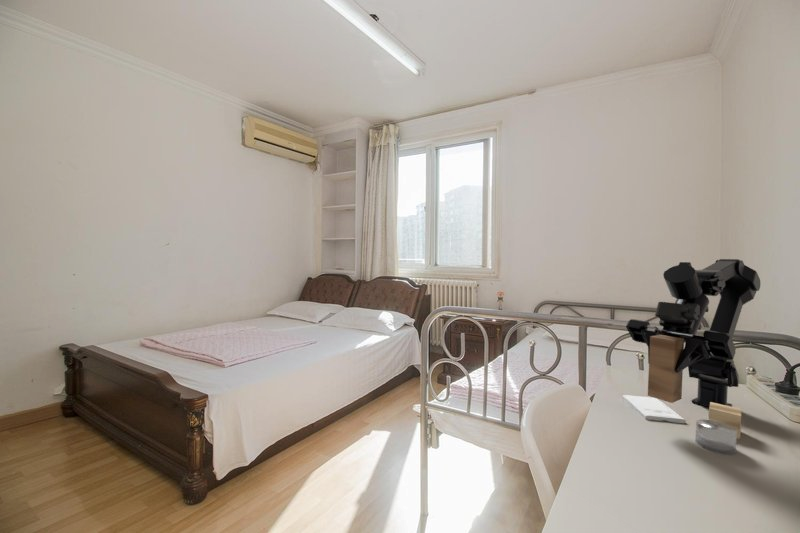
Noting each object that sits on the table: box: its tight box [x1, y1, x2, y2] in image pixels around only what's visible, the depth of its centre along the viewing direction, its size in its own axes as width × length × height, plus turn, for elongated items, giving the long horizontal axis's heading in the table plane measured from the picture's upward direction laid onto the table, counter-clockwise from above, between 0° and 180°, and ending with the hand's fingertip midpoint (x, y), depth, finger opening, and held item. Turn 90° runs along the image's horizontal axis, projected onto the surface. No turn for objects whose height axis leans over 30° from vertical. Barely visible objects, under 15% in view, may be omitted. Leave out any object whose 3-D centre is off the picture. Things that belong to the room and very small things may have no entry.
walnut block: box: [647, 335, 685, 404], centre depth 76 cm, size 4×4×13 cm
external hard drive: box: [622, 394, 687, 424], centre depth 86 cm, size 2×8×12 cm
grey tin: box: [694, 419, 738, 456], centre depth 70 cm, size 6×6×4 cm
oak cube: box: [708, 402, 742, 440], centre depth 76 cm, size 5×5×5 cm
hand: (662, 367), depth 75 cm, fingers closed on walnut block, 4 cm apart
